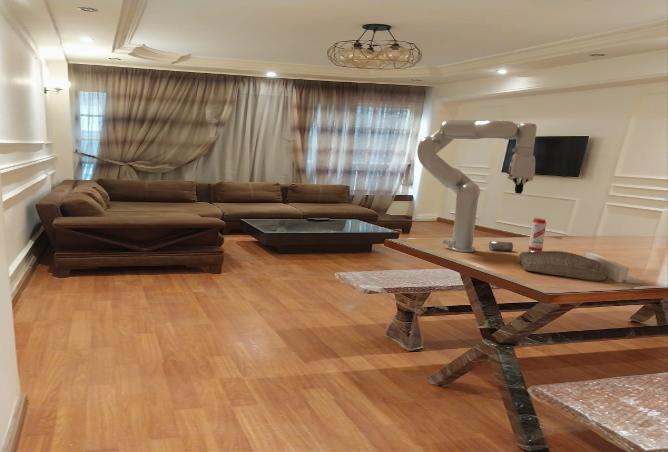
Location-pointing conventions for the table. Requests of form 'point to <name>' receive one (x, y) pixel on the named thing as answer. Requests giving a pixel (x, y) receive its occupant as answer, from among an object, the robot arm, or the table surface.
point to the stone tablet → (563, 265)
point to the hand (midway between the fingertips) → (518, 193)
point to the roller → (500, 246)
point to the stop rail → (615, 270)
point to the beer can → (537, 234)
